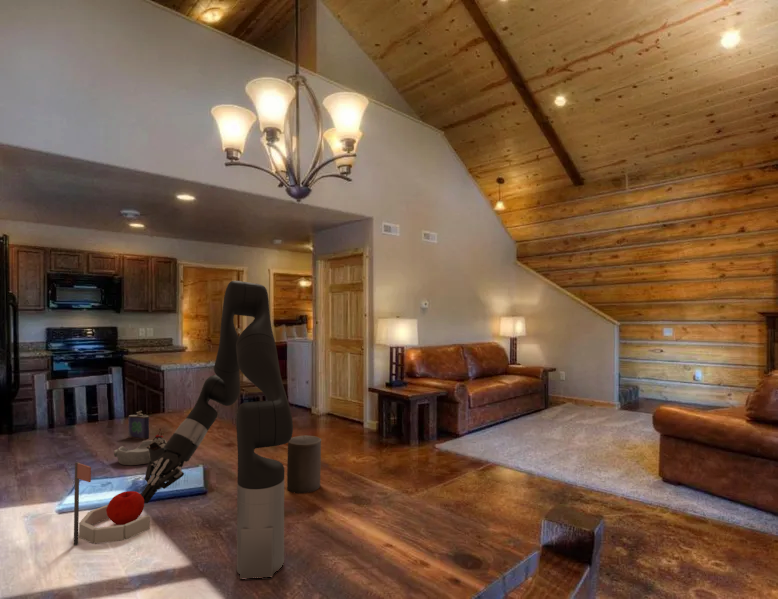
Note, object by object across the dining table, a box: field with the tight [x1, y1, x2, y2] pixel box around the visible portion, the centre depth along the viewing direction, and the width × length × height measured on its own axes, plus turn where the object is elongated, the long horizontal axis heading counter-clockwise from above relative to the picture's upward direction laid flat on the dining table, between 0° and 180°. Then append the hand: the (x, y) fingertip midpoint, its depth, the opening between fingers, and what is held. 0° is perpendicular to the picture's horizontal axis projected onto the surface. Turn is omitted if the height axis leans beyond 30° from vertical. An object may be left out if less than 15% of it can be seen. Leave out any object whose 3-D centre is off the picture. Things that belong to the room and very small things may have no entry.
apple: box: [106, 490, 145, 526], centre depth 108 cm, size 8×8×7 cm
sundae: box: [147, 427, 168, 462], centre depth 136 cm, size 7×7×15 cm
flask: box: [127, 410, 150, 440], centre depth 180 cm, size 9×3×11 cm, turn 76°
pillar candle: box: [286, 434, 322, 494], centre depth 131 cm, size 10×10×15 cm
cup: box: [73, 461, 151, 546], centre depth 104 cm, size 13×15×18 cm
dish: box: [113, 439, 153, 466], centre depth 154 cm, size 14×14×5 cm
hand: (142, 501), depth 112 cm, fingers closed
